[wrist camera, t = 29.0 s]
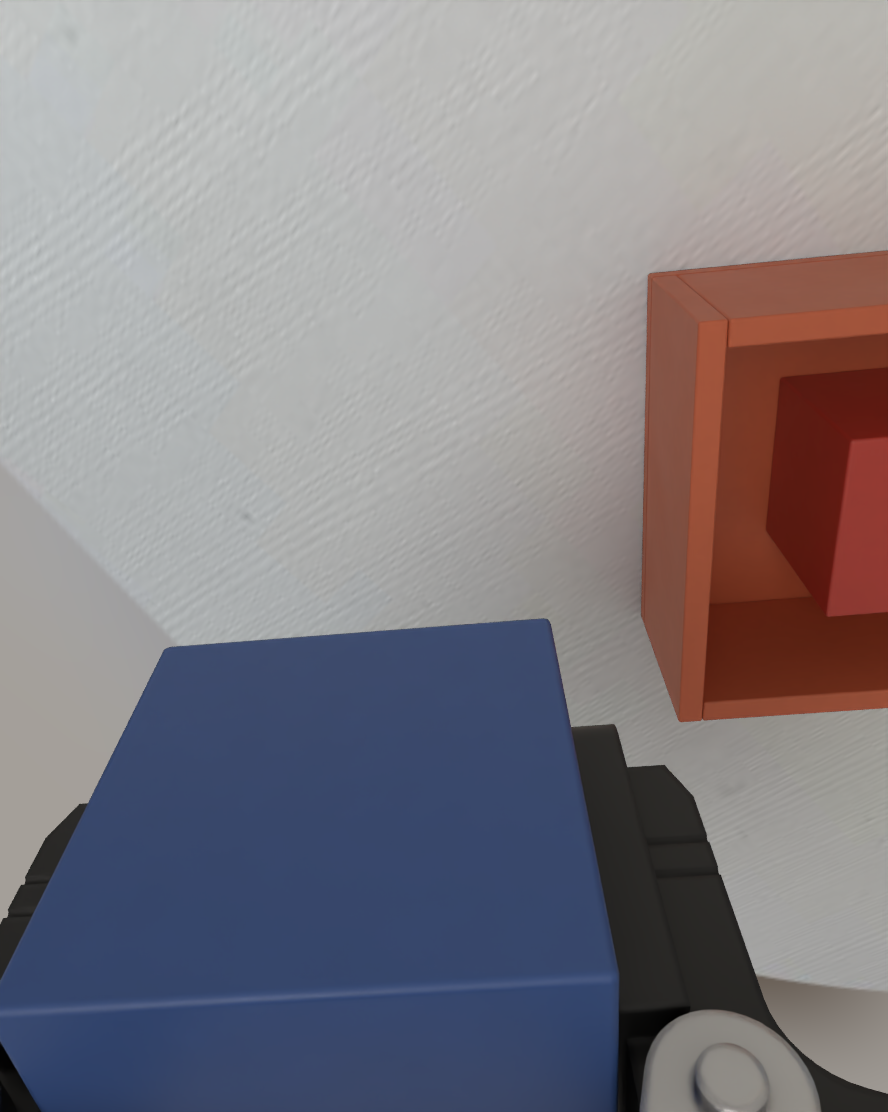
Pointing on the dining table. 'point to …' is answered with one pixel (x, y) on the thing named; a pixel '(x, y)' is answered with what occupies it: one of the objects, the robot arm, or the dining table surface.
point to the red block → (833, 487)
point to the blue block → (329, 891)
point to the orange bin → (747, 486)
